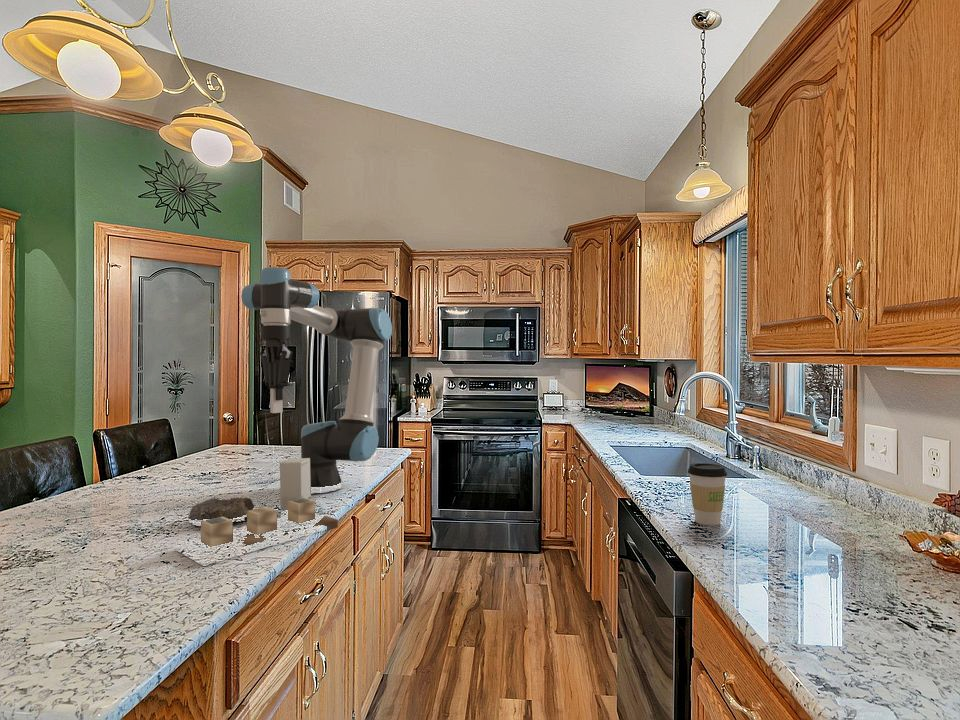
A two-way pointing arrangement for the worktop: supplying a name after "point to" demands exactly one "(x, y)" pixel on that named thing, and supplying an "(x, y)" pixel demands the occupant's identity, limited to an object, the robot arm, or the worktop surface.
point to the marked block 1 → (216, 531)
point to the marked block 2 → (301, 510)
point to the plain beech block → (261, 520)
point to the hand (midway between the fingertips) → (276, 412)
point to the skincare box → (294, 480)
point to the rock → (221, 508)
